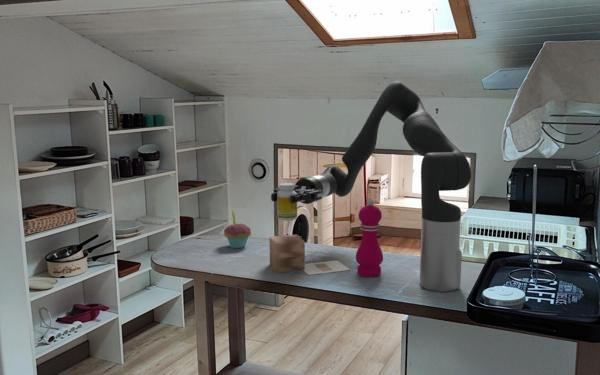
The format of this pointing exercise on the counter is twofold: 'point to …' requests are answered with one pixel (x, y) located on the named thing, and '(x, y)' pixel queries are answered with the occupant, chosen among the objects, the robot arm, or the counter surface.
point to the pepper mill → (369, 242)
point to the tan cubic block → (287, 253)
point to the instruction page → (324, 267)
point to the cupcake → (237, 234)
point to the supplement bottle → (286, 202)
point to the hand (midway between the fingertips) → (282, 198)
